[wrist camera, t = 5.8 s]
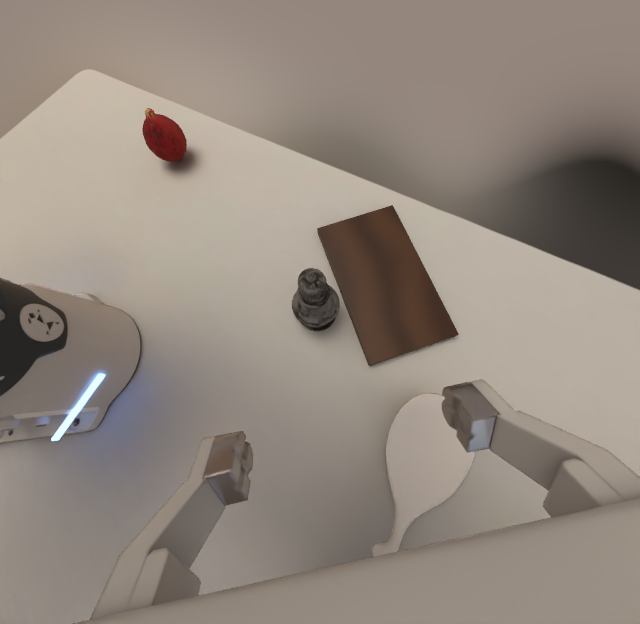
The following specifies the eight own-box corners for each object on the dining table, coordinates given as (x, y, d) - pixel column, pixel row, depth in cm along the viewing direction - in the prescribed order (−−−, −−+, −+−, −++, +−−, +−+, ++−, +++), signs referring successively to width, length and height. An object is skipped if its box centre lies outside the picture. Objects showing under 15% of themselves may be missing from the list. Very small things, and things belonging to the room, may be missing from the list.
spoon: (265, 678, 24) (254, 724, 21) (409, 379, 31) (418, 378, 28) (348, 754, 22) (351, 818, 19) (479, 419, 30) (498, 423, 26)
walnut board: (368, 366, 32) (370, 365, 31) (317, 232, 38) (317, 228, 37) (455, 336, 33) (459, 334, 32) (391, 209, 39) (392, 204, 38)
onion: (194, 171, 43) (165, 123, 35) (161, 174, 43) (124, 127, 35) (196, 145, 44) (168, 94, 37) (164, 148, 44) (129, 98, 37)
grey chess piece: (313, 342, 33) (305, 317, 22) (287, 309, 35) (265, 270, 23) (347, 314, 34) (356, 277, 23) (320, 284, 36) (315, 234, 24)
